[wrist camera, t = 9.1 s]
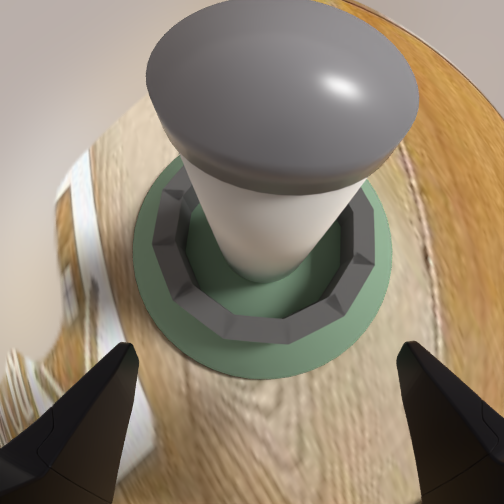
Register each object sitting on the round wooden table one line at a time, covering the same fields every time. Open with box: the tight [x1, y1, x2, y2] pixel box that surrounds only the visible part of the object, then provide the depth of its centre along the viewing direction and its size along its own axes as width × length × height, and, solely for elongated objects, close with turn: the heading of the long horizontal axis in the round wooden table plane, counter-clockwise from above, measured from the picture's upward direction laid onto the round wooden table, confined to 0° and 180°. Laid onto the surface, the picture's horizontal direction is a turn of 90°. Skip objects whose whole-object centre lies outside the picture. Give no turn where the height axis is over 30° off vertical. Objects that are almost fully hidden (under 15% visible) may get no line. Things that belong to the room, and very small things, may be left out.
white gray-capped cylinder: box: [146, 0, 419, 283], centre depth 11 cm, size 5×5×13 cm
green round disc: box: [133, 155, 392, 379], centre depth 16 cm, size 16×16×3 cm
